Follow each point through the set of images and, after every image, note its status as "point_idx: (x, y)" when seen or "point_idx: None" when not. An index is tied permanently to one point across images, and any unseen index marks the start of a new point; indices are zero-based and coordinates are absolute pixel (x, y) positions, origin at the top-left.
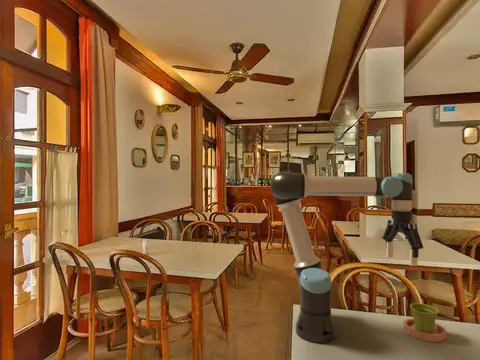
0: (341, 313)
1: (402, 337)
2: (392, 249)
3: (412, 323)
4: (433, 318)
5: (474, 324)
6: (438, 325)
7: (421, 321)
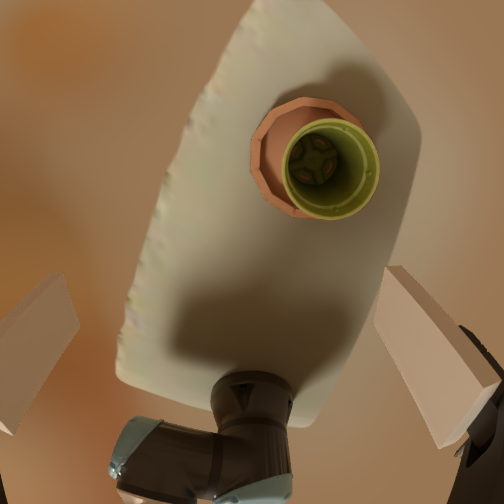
0: (156, 316)
1: (316, 240)
2: (22, 327)
3: (261, 158)
4: (363, 162)
5: None
6: (317, 105)
7: (340, 193)
